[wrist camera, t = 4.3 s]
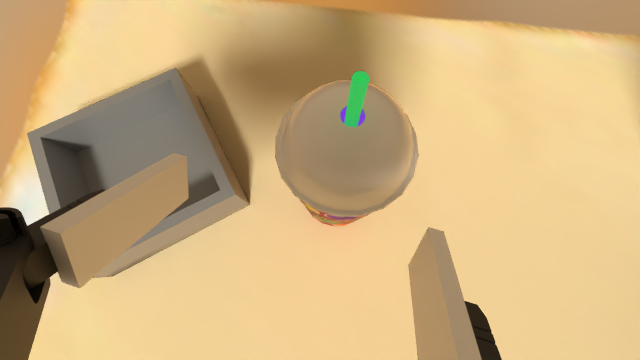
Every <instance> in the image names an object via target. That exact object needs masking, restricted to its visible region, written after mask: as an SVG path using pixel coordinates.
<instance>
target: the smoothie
mask: <svg viewBox="0 0 640 360" xmlns="http://www.w3.org/2000/svg"><path fill="white" fill-rule="evenodd" d="M418 156H419V154H418V146H417V138H416V133H415V131H414V129H413V127H412V124H411V122H410V120H409V118H408V116H407V114H406V113H405V112H404V110H403V108H402V107H401V106H400V105H399V104H398V103H397V102H396V100H395V99H394V98H393V97H392V96H391V95H390V94H389V93H387V92H385V91H384V90H382V89H380V88H379V87H377V86H375V85H374V84H371V83H369V76H368V74H367V73H366V72H364V71H357V72H355V73H354V74H353V76H352V79H351V80H337V81H334V82H331V83H327V84H324V85H321V86H319V87H317V88H315V89H314V90H312V91H311V92H309V93H308V94H306V95H305V96H304V97H302V98H301V99H299V100H298V101H296V102H295V104H294V105H293V106H292V107H291V109H290V110H289V111H288V112H287V113H286V115H285V116H284V117H283V119H282V122H281V125H280V127H279V130H278V132H277V135H276V150H275V158H276V161H277V164H278V168H279V171H280V174H281V177H282V179H283V180H284V182H285V183H286V184H287V186H288V187H289V188H290V190H291V191H292V193H293V194H294V195H295V196H296V197H297V198H299V199H300V200H301V202H302V203H303V204H304V205H305V207H306V208H307V209H308V211H309V212H310V213H311V214H312V216H313V217H314V218H316V219H317V220H319V221H320V222H322V223H324V224H328V225H331V226H343V225H346V224H349V223H352V222H354V221H356V220H358V219H360V218H362V217H364V216H366V215H368V214H370V213H372V212H375V211H378V210H381V209H384V208H385V207H386V206H388V205H389V204H390V203H391V202H393V201H394V200H395V199H397V198H398V197H399V196H401V195H402V193H403V192H404V190H405V189H406V187H407V186H408V184H409V183H410V181H411V179H412V178H413V176H414V173H415V168H416V164H417V160H418Z"/></svg>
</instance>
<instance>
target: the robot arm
mask: <svg viewBox="0 0 640 360" xmlns="http://www.w3.org/2000/svg"><path fill="white" fill-rule="evenodd" d="M188 198H189V195H188V172H187V156H183V155H180V154H177V153H172V154H171V155H169V156H167V157H165V158H163V159H162V160H160V161H158V162H156V163H154V164H153V165H151V166H149V167H147V168H145V169H144V170H142V171H140V172H138V173H136V174H134V175H133V176H131V177H129V178H127V179H125V180H124V181H122V182H120V183H118V184H116V185H115V186H113V187H111V188H109V189H107V190H105V189H102V190H99V191H95V192H92V193H89V194H87V195H85V196H83V197H81V198H79V199H77V200H76V202H72V203H70V204H68V205H66V207H62V208H60V209H59V210H57V211H55V212H53V213H51V214H49V215H47V216H45V217H44V218H42V219H40V220H38V221H36V222H34V223H32V224H30V225H29V226H27V225H26V222H25V220H24V218H23V215H22V213H21V212H20V211H19V210H18V209H14V208H0V360H28V358H29V354H30V351H31V348H32V344H33V341H34V338H35V334H36V331H37V328H38V324H39V321H40V318H41V314H42V311H43V308H44V304H45V301H46V298H47V294H48V291H49V288H50V278H49V277H51V276H52V275H53V274H55V273H56V272H58V273H59V276H60V278H61V281H62V282H63V283H66V284H69V285H72V286H75V287H77V288H81V287H82V286H83V285H84V284H86V283H87V282H88V281H89V280H90V279H92V278H93V277H94V276H95V275H96V274H98V273H99V272H100V271H101V270H102V269H104V268H105V267H106V266H107V265H108V264H110V263H111V262H112V261H113V260H115V259H116V258H117V257H118V256H119V255H121V254H122V253H123V252H124V251H125V250H127V249H128V248H129V247H130V246H131V245H133V244H134V243H135V242H136V241H137V240H139V239H140V238H141V237H142V236H144V235H145V234H146V233H147V232H148V231H150V230H151V229H152V228H153V227H154V226H156V225H157V224H158V223H159V222H160V221H162V220H163V219H164V218H165V217H166V216H168V215H169V214H170V213H171V212H173V211H174V210H175V209H176V208H177V207H179V206H180V205H181V204H182V203H183V202H185V201H186V200H187V199H188ZM408 266H409V276H410V286H411V296H412V306H413V316H414V325H415V335H416V345H417V355H418V360H502V359H501V357H500V354H499V351H498V348H497V346H496V345H495V340H494V337H493V334H491V329H490V326H489V323H488V320H487V318H486V316H485V315H484V314H483V312H482V311H481V309H480V308H479V307H478V305H476V304H473V303H470V302H466V301H464V298H463V295H462V292H461V288H460V285H459V282H458V278H457V275H456V271H455V268H454V265H453V261H452V258H451V255H450V251H449V248H448V245H447V241H446V238H445V235H444V232H443V231H440V230H436V229H433V228H429V227H428V229H427V231H426V233H425V235H424V237H423V238H422V240H421V242H420V244H419V246H418V248H417V250H416V252H415V254H414V256H413V258H412V260H411V262H410V263H409V265H408Z"/></svg>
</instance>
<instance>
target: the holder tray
mask: <svg viewBox="0 0 640 360" xmlns="http://www.w3.org/2000/svg"><path fill="white" fill-rule="evenodd" d="M27 135H28V138H29V142H30V145H31V149H32V153H33V156H34V160H35V164H36V167H37V171H38V174H39V178H40V182H41V185H42V189H43V192H44V196H45V200H46V203H47V207H48V210H49V214H51V213H53V212H55V211H57V210H59V209H60V208H62V207H66V205H68V204H70V203H72V202H76V200H77V199H79V198H81V197H83V196H85V195H87V194H89V193H92V192H95V191H99V190H102V189H105V190H107V189H109V188H111V187H113V186H115V185H116V184H118V183H120V182H122V181H124V180H125V179H127V178H129V177H131V176H133V175H134V174H136V173H138V172H140V171H142V170H144V169H145V168H147V167H149V166H151V165H153V164H154V163H156V162H158V161H160V160H162V159H163V158H165V157H167V156H169V155H171V154H172V153H177V154H180V155H183V156H187V172H188V195H189V198H188V199H187V200H186V201H185V202H183V203H182V204H181V205H180V206H179V207H177V208H176V209H175V210H174V211H173V212H171V213H170V214H169V215H168V216H166V217H165V218H164V219H163V220H162V221H160V222H159V223H158V224H157V225H156V226H154V227H153V228H152V229H151V230H150V231H148V232H147V233H146V234H145V235H144V236H142V237H141V238H140V239H139V240H137V241H136V242H135V243H134V244H133V245H131V246H130V247H129V248H128V249H127V250H125V251H124V252H123V253H122V254H121V255H119V256H118V257H117V258H116V259H115V260H113V261H112V262H111V263H110V264H108V265H107V266H106V267H105V268H104V269H102V270H101V271H100V272H99V273H98V274H96V275H95V276H94V277H93V278H99V277H109V276H114V275H116V274H118V273H120V272H122V271H124V270H126V269H128V268H129V267H131V266H133V265H135V264H137V263H139V262H141V261H143V260H145V259H147V258H149V257H151V256H152V255H154V254H156V253H158V252H160V251H162V250H164V249H166V248H168V247H170V246H172V245H174V244H175V243H177V242H179V241H181V240H183V239H185V238H187V237H189V236H191V235H193V234H195V233H197V232H198V231H200V230H202V229H204V228H206V227H208V226H210V225H212V224H214V223H216V222H218V221H219V220H221V219H223V218H225V217H227V216H229V215H231V214H233V213H235V212H237V211H239V210H241V209H242V208H244V207H246V206H248V205H250V204H249V202H248V200H247V198H246V196H245V194H244V192H243V190H242V187H241V185H240V183H239V181H238V179H237V177H236V175H235V173H234V171H233V169H232V167H231V165H230V163H229V161H228V158H227V156H226V154H225V152H224V150H223V148H222V146H221V144H220V142H219V140H218V138H217V136H216V134H215V131H214V129H213V127H212V125H211V123H210V121H209V119H208V117H207V115H206V113H205V111H204V109H203V107H202V104H201V102H200V100H199V98H198V96H197V95H196V93H195V92H194V91H193V90H192V88H191V87H190V86H189V84H188V83H187V82H186V81H185V79H184V78H183V77H182V76H181V74H180V73H179V72H178V70H177V69H176V68H174V69H172V70H170V71H167V72H165V73H163V74H161V75H158V76H156V77H154V78H152V79H149V80H147V81H145V82H142V83H140V84H138V85H136V86H133V87H131V88H129V89H127V90H124V91H122V92H120V93H118V94H115V95H113V96H111V97H108V98H106V99H104V100H102V101H99V102H97V103H95V104H93V105H90V106H88V107H86V108H84V109H81V110H79V111H77V112H74V113H72V114H70V115H68V116H65V117H63V118H61V119H59V120H56V121H54V122H52V123H49V124H47V125H45V126H43V127H40V128H38V129H36V130H34V131H31V132H29V133H27Z"/></svg>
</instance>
